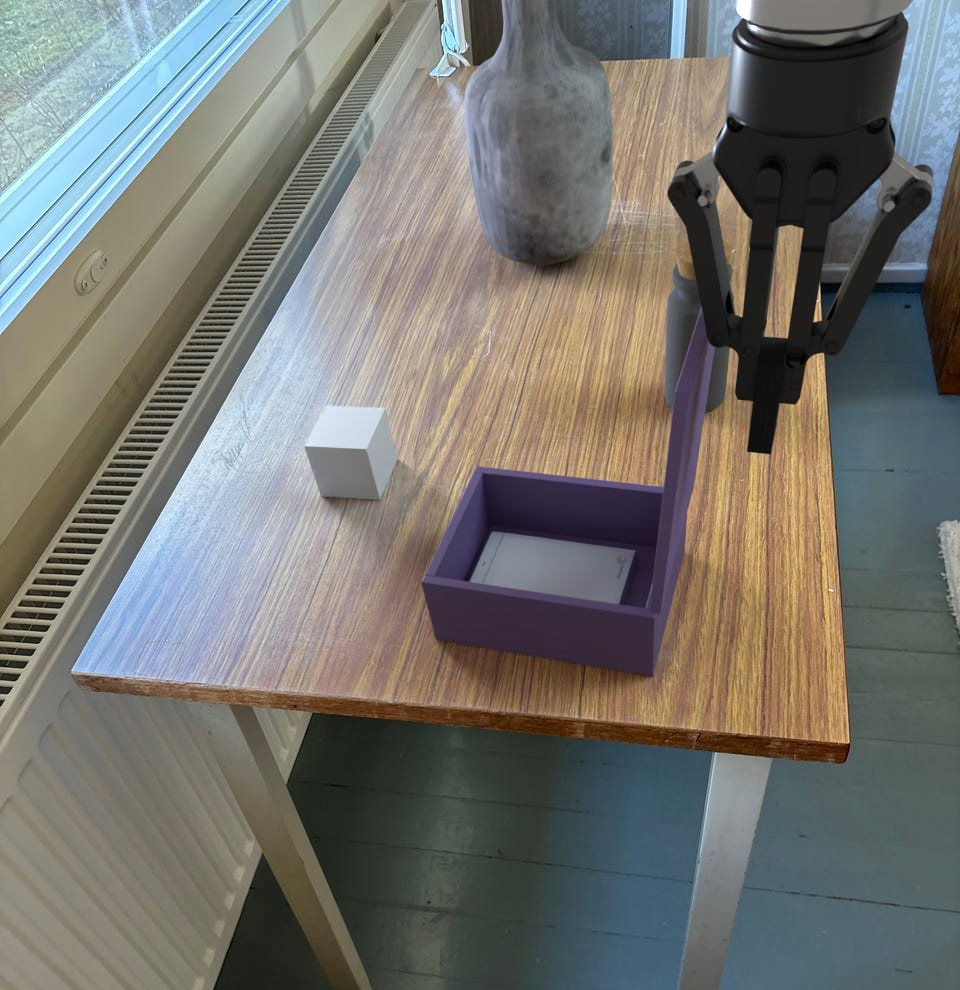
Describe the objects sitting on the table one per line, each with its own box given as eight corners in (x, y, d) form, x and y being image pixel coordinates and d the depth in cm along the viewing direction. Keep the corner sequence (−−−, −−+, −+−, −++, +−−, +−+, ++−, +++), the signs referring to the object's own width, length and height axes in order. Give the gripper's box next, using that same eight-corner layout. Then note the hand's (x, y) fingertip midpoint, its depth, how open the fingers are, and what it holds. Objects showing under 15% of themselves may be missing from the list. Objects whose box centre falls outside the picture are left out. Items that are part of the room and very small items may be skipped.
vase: (496, 299, 107) (459, -4, 84) (470, 235, 118) (431, -50, 95) (631, 269, 108) (630, -41, 85) (593, 208, 118) (584, -82, 95)
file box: (435, 640, 75) (420, 582, 70) (486, 525, 83) (476, 465, 78) (652, 677, 70) (654, 618, 65) (685, 551, 78) (688, 489, 73)
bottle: (723, 415, 89) (736, 267, 77) (660, 413, 90) (665, 267, 79) (727, 379, 92) (740, 232, 81) (667, 377, 94) (672, 232, 82)
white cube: (397, 458, 91) (385, 407, 86) (380, 500, 87) (366, 449, 83) (340, 455, 92) (325, 405, 88) (320, 496, 89) (303, 446, 84)
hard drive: (636, 548, 76) (491, 528, 79) (613, 623, 71) (460, 598, 74) (636, 562, 77) (494, 542, 80) (614, 637, 72) (463, 611, 76)
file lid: (674, 391, 50) (689, 393, 50) (714, 262, 58) (727, 263, 58) (648, 612, 65) (660, 614, 65) (683, 484, 73) (694, 485, 72)
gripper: (981, -21, 42) (874, 413, 60) (687, -11, 45) (670, 394, 63) (982, 44, 37) (866, 491, 55) (657, 49, 41) (647, 466, 59)
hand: (761, 439), depth 59 cm, fingers closed
